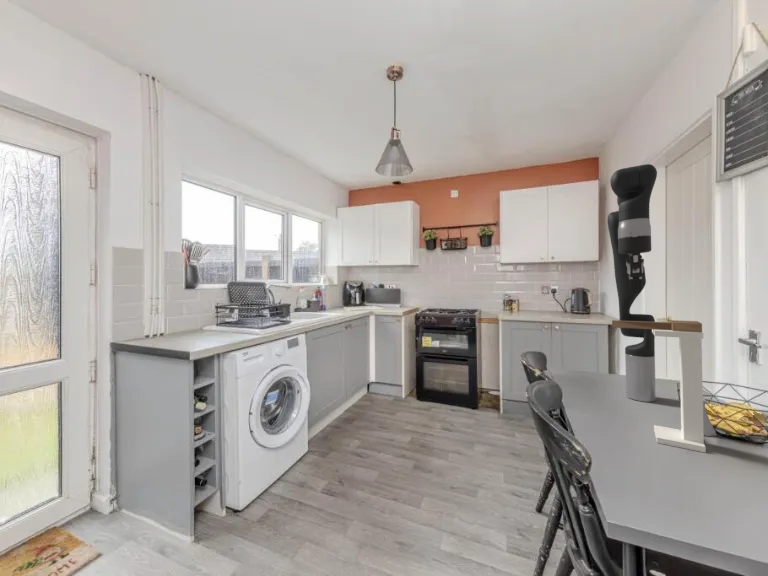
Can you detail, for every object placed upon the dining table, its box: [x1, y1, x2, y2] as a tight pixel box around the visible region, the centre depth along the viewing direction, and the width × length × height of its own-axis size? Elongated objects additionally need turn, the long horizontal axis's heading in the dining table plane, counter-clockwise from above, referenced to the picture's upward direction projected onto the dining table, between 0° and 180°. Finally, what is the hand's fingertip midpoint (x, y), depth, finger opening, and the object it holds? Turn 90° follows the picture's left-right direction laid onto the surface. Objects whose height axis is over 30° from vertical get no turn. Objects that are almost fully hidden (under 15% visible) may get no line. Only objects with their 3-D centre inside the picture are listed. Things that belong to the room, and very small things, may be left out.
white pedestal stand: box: [652, 329, 707, 454], centre depth 94 cm, size 10×10×32 cm
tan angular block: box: [611, 319, 703, 333], centre depth 97 cm, size 7×20×2 cm, turn 54°
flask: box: [703, 398, 717, 437], centre depth 99 cm, size 7×7×10 cm
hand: (635, 292), depth 94 cm, fingers open, 8 cm apart
